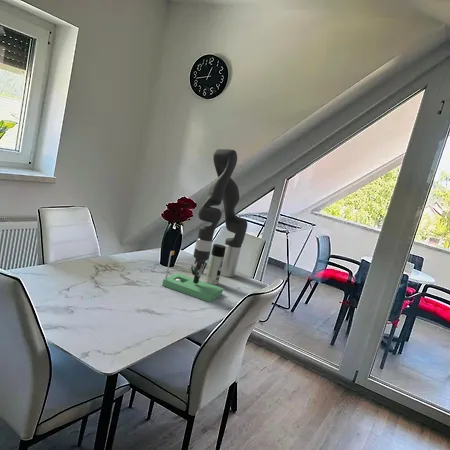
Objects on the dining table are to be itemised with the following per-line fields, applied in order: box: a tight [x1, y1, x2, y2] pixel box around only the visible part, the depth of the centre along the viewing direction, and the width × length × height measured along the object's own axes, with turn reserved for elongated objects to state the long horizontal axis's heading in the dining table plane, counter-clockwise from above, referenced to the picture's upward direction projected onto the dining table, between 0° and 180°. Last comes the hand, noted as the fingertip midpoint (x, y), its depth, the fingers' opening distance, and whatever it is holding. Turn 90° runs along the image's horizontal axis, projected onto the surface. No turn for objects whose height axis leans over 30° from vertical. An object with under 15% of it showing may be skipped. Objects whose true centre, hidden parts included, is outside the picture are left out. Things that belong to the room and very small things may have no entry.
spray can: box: [205, 243, 226, 286], centre depth 219 cm, size 7×7×20 cm
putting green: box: [161, 250, 224, 303], centre depth 202 cm, size 15×25×17 cm, turn 69°
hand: (195, 283), depth 203 cm, fingers closed
